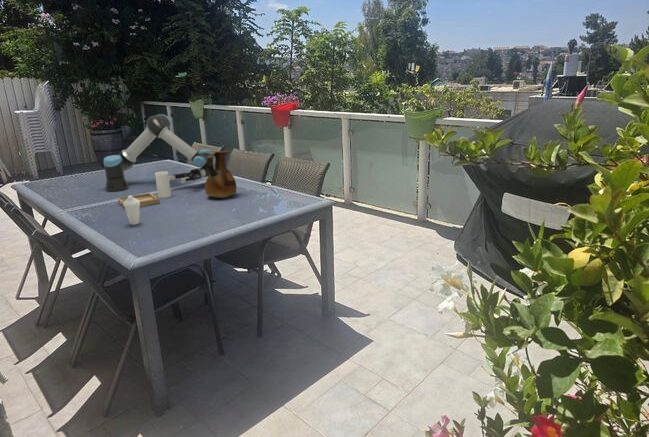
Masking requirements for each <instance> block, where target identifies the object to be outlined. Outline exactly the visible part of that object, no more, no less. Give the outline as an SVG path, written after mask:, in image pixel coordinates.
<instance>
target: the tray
mask: <svg viewBox="0 0 649 437" xmlns="http://www.w3.org/2000/svg"><path fill="white" fill-rule="evenodd" d="M131 196H132V197H133V198H135V199H137V200H139V202H140V206H139V207H140V208H143V207H148V206H155V205H159V204H160V203H161V202H160V198H159V197H158V196H156V195H154V194H152V193H151V192H148V193H141V194H136V195H131ZM128 197H129V195H128V196H123V197H118V198H117V202H118V204H119V205H120V206H121V207H123V209H125V207H124V204H123V203H124V202H125V201H126V199H127V198H128Z"/></svg>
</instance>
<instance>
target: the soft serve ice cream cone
mask: <svg viewBox="0 0 649 437" xmlns="http://www.w3.org/2000/svg"><path fill="white" fill-rule="evenodd" d="M128 196H129V197H128ZM128 196H127V197H128V198H127V199H126V201H125V202H124V203H123V204H124V207H125V208H124V207H123V208H124V209H125V213H126V216H127V218H128V220H129V224H130V225H133V226H134V225H138V224H140V214H141V212H140V208H141V207H139V206H140V202H139V200H137V199H135V198H133V197H132V196H133V195H130V194H129V195H128Z"/></svg>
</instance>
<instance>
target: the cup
mask: <svg viewBox="0 0 649 437" xmlns="http://www.w3.org/2000/svg"><path fill="white" fill-rule="evenodd" d="M154 176H155V183H156V191H157V198H158V199H166V198H171V197H172V191H171V184H170V181H169V176H170V175H169V171H158V172H155V173H154Z"/></svg>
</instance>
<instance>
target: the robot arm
mask: <svg viewBox="0 0 649 437" xmlns="http://www.w3.org/2000/svg"><path fill="white" fill-rule="evenodd" d="M171 123H172V122H171V119H170V118H169V117H168V116H167V115H165V114H162V113H161V114H160V113H159V114H157V115H156V114H155V115H152V116H150V117H148V119H147V120H146V128H144V131H142V133H140V135H139V136H138V137H137V138H136V139H134V140H133V142H132V143H131V144H130V145H129V146H128V147H127V148H126V149H122V150H121V152H119V153H118V154H113V155H108V156H105V157H104V158H103V166H104V172H105V179H106V181H105V188H104V189H105V191H106V192H112V193H113V192H122V191H125V190H128V189H130V187H129V183H128V181H127V180H126V178H125V173H124V172H126V171H128V170H130V169H132V167H133V166H134V164H135V163H136V162H137V158H138V156H140V154H141V153H143V151H144V150H145V149H146V148H147V147H148V146H149V145H150V144H151V143H152V142H153V141H154V140H155V139H156V138H158V139H162V140H163V141H165V142H166V143H167V144H168V145H169V146H171V147H172V148H174V149H175V150H177V151H178V152H179V153H181V154H182V155H183V156H184V157H186V158H187V159H188V160H189V161H191V162H192V164H193V166H195V167H197V168H193V169H191V170H190V172H184V173H183V172H182V173H175V174H172V175H169V182H170V181H174V180H176V179H180V182H181V183H182V184H183V183H187V182H191V181H192V182H194V181H196V180H202V179H203V178H208V176H209V174H210V172H209V169H208V166H207V157H208V155H209V154H210V153H211V150H210V149H208V148H207V149H206V148H205V149H200V150H199V152H198V151H197V150H196V149H195V148H194V147H191V145H190V144H188V143H187V142H186V141H184V140H182V138H180V137H179V136H178V135H176V134H175V133H173V131H171V130H169V129H170V128H171V126H172V124H171ZM213 167H214V169H215V167H216V166H215V165H213Z"/></svg>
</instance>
